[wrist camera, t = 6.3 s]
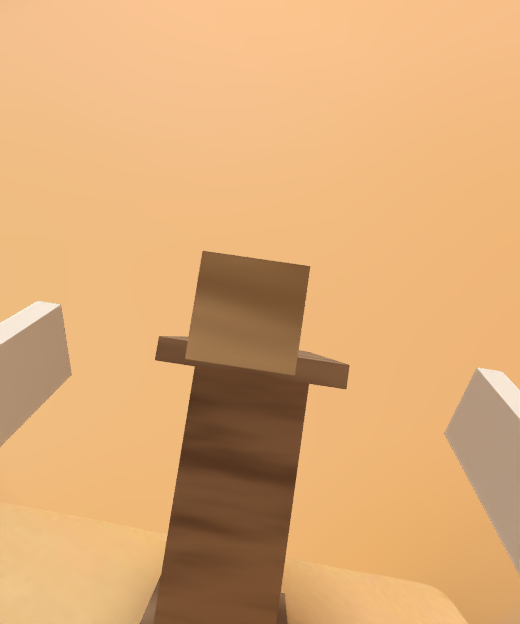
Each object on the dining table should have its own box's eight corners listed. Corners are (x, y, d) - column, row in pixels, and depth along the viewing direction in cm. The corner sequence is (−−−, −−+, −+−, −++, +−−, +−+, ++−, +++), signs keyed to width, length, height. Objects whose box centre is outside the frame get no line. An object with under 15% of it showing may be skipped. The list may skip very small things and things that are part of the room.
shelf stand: (301, 878, 19) (365, 367, 21) (56, 833, 19) (143, 333, 21) (282, 600, 39) (316, 352, 41) (162, 580, 39) (201, 335, 41)
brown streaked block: (295, 375, 9) (310, 266, 9) (184, 358, 9) (202, 250, 9) (271, 346, 39) (274, 320, 39) (245, 342, 39) (249, 317, 39)
